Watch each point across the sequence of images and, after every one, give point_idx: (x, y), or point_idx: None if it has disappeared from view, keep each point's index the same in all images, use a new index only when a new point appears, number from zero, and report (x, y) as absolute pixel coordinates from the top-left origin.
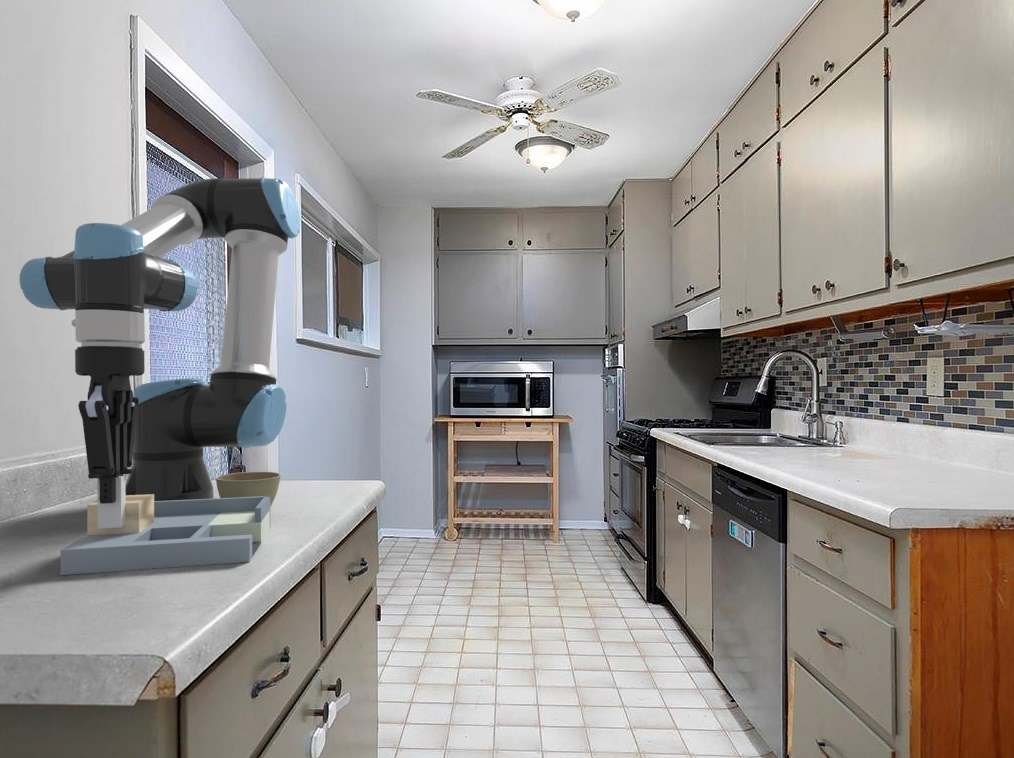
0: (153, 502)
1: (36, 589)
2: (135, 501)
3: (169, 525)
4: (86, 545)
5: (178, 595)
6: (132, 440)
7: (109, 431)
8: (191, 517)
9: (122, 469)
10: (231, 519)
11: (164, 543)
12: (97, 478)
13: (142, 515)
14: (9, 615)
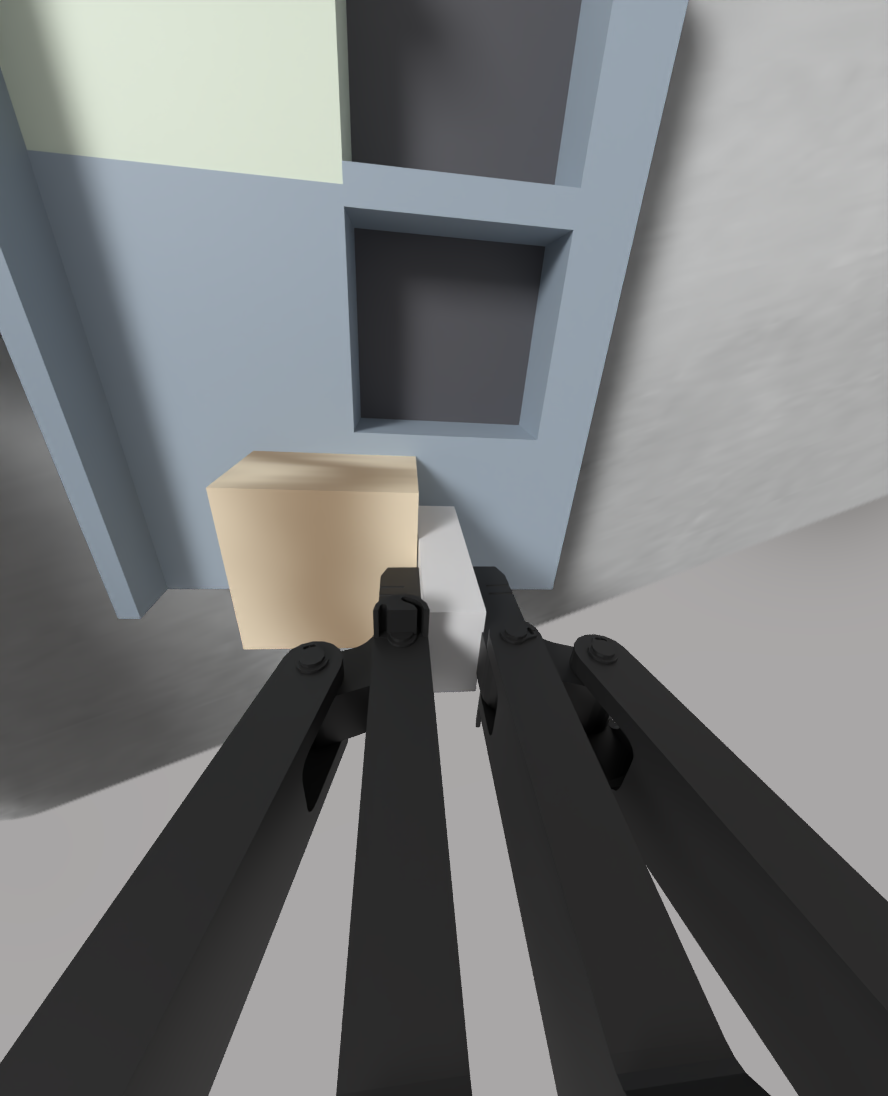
0: (232, 475)
1: (614, 563)
2: (387, 514)
3: (319, 374)
4: (530, 549)
5: (869, 209)
6: (209, 822)
7: (867, 956)
8: (165, 309)
9: (428, 646)
10: (217, 37)
11: (613, 320)
12: (473, 689)
13: (376, 471)
14: (751, 544)
